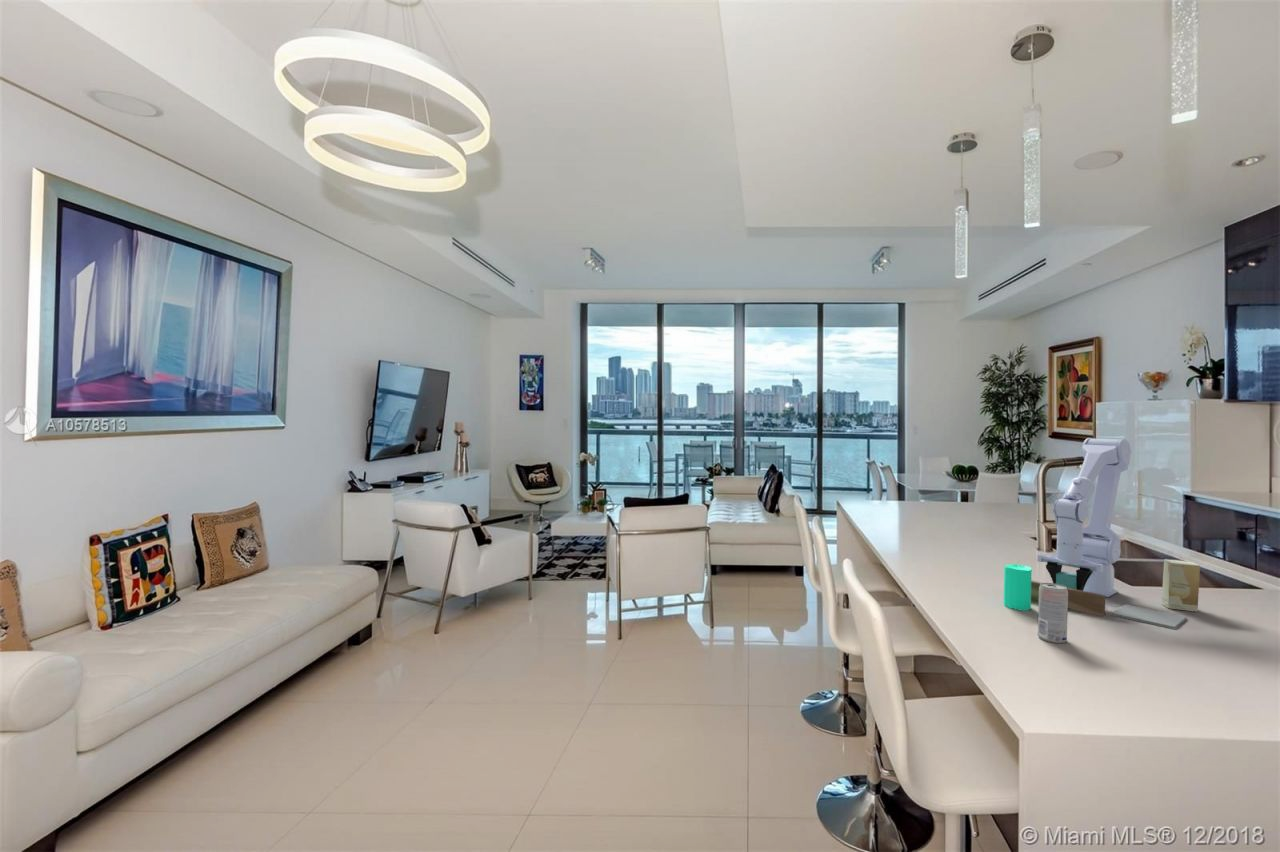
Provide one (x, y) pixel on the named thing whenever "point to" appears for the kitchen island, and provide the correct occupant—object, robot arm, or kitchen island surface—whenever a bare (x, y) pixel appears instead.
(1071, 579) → the teal block
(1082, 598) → the walnut screen
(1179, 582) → the skincare box
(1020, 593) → the candle
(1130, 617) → the grey mat
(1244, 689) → the kitchen island surface
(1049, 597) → the energy drink
